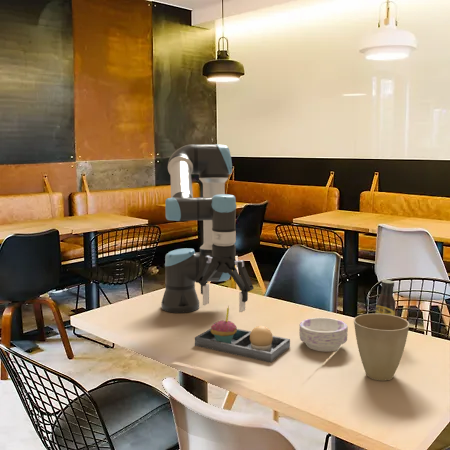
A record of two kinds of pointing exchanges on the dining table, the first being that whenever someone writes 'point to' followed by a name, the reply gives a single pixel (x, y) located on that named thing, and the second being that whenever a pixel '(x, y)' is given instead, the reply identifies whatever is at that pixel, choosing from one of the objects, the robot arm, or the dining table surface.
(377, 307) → the sauce bottle
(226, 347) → the divided tray
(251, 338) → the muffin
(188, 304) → the robot arm
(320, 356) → the dining table surface
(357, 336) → the plant pot
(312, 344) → the paper bowls
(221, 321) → the cupcake
